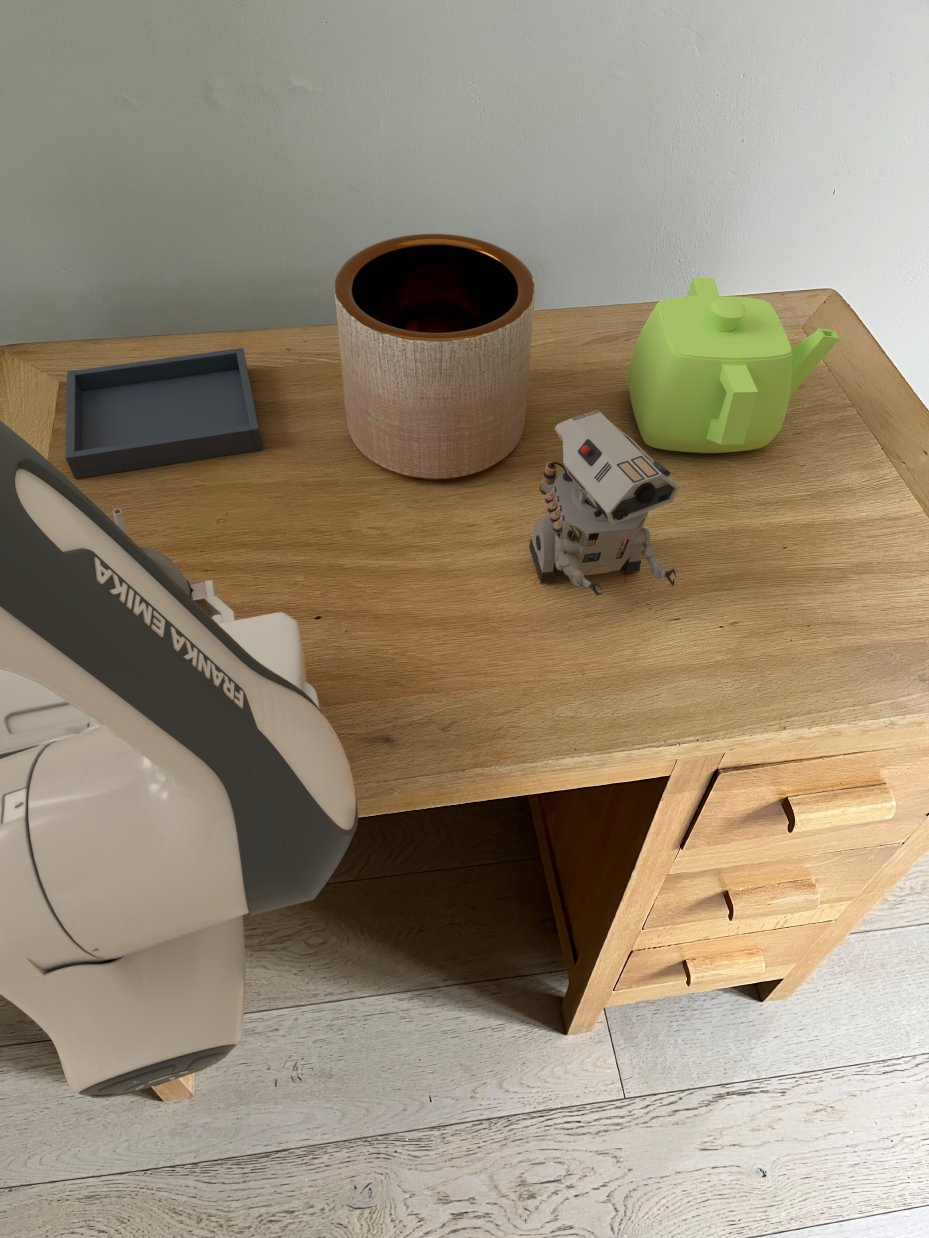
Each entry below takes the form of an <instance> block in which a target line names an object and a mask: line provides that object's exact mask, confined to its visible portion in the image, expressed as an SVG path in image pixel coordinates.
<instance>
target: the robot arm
mask: <svg viewBox="0 0 929 1238" xmlns="http://www.w3.org/2000/svg"><path fill="white" fill-rule="evenodd" d="M139 546H140V545H138V544H137V543H135V541H134V540H133V539H132V538H131V537H129V535H128V534H127V535H126V534H125V533H124V532H123V531H122V530H121V529H120V528H119V527H118V526H117V525H116V523H115V521H114V520H112V519H111V518H110V517H109V516H108V515H107V514H106V513H105V512H104V511H103V510H102V509H101V508H100V507H98V505H96V503H94V501H92V500H91V498H89V497H88V496H87V495H86V494H85V493H84V492H83V491H82V490H80V489H79V488H78V487H77V486H76V485H75V484H74V483H73V482H72V481H71V480H70V479H69V478H67V477H66V476H65V474H64V473H62V472H61V471H60V470H59V469H58V468H57V467H55V466H54V465H53V464H52V463H51V462H50V461H49V460H48V459H47V458H46V457H45V456H43V455H42V454H41V453H40V452H39V451H38V450H37V449H36V448H35V447H33V446H32V445H31V444H29V442H28V441H26V440H25V439H24V438H22V436H20V435H19V434H17V433H16V431H14V430H13V429H12V428H10V427H9V426H8V425H7V424H6V423H4V422H3V421H2V420H0V995H1V996H2V997H3V998H5V999H6V1000H8V1001H9V1002H10V1003H12V1004H13V1005H15V1006H16V1007H17V1008H18V1009H19V1010H21V1011H22V1012H23V1013H24V1014H26V1015H27V1016H28V1017H29V1018H30V1019H31V1020H33V1021H34V1022H35V1023H36V1024H37V1026H39V1027H40V1028H41V1029H42V1030H43V1031H44V1032H45V1033H46V1034H47V1035H48V1037H49V1039H51V1041H52V1043H53V1045H54V1047H55V1049H56V1052H57V1054H58V1057H59V1060H60V1061H59V1062H60V1064H61V1067H62V1071H63V1073H64V1078H65V1080H66V1082H67V1084H68V1086H69V1088H70V1089H71V1090H72V1091H73V1092H75V1093H76V1094H78V1095H80V1096H84V1097H90V1098H92V1099H108V1098H115V1097H120V1096H121V1097H122V1096H125V1095H130V1094H134V1093H138V1091H141V1090H145V1089H148V1088H151V1087H158V1086H160V1085H161V1086H162V1085H164V1084H166V1083H169V1082H171V1081H174V1080H177V1079H181V1078H183V1077H186V1076H189V1075H192V1074H195V1073H198V1072H202V1071H203V1070H206V1069H208V1068H209V1067H212V1066H214V1065H216V1064H217V1063H219V1062H221V1061H222V1060H224V1059H225V1058H227V1056H228V1055H229V1054H230V1052H231V1051H233V1050H234V1049H235V1048H236V1047H237V1046H238V1044H239V1043H240V1041H241V1038H242V1032H243V1025H244V1017H245V1003H246V946H245V945H246V944H245V943H246V942H245V927H244V916H245V915H247V914H249V916H251V917H252V916H255V915H259V914H263V913H267V912H271V911H275V910H279V909H283V908H286V907H291V906H294V905H299V904H302V903H307V902H310V901H313V900H315V899H316V898H317V896H318V895H319V893H320V892H321V891H322V890H323V889H324V887H325V886H326V884H327V883H328V881H329V880H330V878H331V877H332V875H333V874H334V872H335V871H336V869H337V867H339V865H340V862H341V861H342V859H343V858H344V855H345V854H346V852H347V850H348V848H349V846H350V845H351V842H352V840H353V838H354V835H355V833H356V831H357V829H358V825H359V824H358V823H359V822H358V821H359V810H358V801H357V795H356V790H355V789H356V788H355V784H354V782H355V781H354V777H353V774H352V769H351V765H350V762H349V759H348V757H347V754H346V752H345V749H344V746H343V744H342V742H341V739H340V738H339V736H338V734H337V733H336V731H335V730H334V728H333V726H332V725H331V723H330V722H329V720H328V719H327V718H326V717H325V715H324V713H323V711H322V705H321V701H320V696H319V693H318V690H317V689H316V688H315V687H314V686H313V685H312V684H311V683H309V682H307V666H306V658H305V651H304V646H303V645H304V644H303V639H302V633H301V629H300V625H299V622H298V621H297V620H296V619H295V618H293V616H291V615H289V614H287V613H285V612H282V611H277V612H272V613H267V614H261V615H256V616H251V617H246V618H239V619H236V616H235V611H234V610H233V609H231V607H229V606H228V605H227V604H226V603H225V602H223V600H221V599H220V598H219V597H218V593H217V589H216V585H215V583H214V580H213V579H208V580H203V581H198V582H197V581H196V582H193V583H190V586H191V591H192V593H191V596H192V598H191V597H190V596H189V595H188V594H187V593H186V592H185V591H184V590H183V589H182V588H181V587H180V586H179V585H178V584H177V583H176V582H175V581H174V580H173V579H172V578H170V577H169V576H168V575H167V574H166V573H165V572H164V571H163V570H162V569H161V568H160V567H159V566H158V565H157V564H156V563H155V562H154V561H153V560H152V559H151V558H150V557H149V556H148V555H147V554H146V553H145V552H144V551H143V550H142V549H141V548H140V547H139Z"/></svg>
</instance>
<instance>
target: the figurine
mask: <svg viewBox="0 0 929 1238" xmlns="http://www.w3.org/2000/svg"><path fill="white" fill-rule="evenodd" d="M554 430H555V432H556V434H557V436H558V438H559V439H560V440H561V442H562V459H563V460H562V462H563V464H562V463H560V462H558V461H548V462H546V463H545V467H544V470H543V475H542V480H541V484H540V485H539V492H540V494H542V495H544V503H545V504H547V508H546V511H547V514H546V517H545V518H543V519H537V520H536V521H535V523H534V527H533V533H532V539H530V540H529V545H528V549H529V551H530V554H531V558H532V560H533V564H534V567H535V570H536V573H537V576H538V580H539V583H540V584H544V583H553V582H555V574H556V573H555V572H556V571H555V569H554V567H555V568H556V570H558V571H563V573H564V574H565V575H566V576H567V577H568V578H569V581H570V583H572V584H573V585H574V586H575V587H580V586H581V585H583V586H584V587H586V588H590V589H591V590H592V591H593V593H594V594H595V596H596V597H599V596H601V595H603V594H604V592H598V590H597V588H598V589H600V590H602V588H601V586H600V583H599V582H594V583H592V582H591V581H590V580H588V579H587V578H586V577H585V576H591V575H600V574H607V573H610V572H616V571H620V570H621V569H622V567H623V568H624V571H625V573H627V574H628V573H635V572H641V565H642V561H641V559H643V560H645V561H646V562H647V564H648V567H650V571H651V575H652V576H653V578H654V580H656V581H657V582H661V580H662V579H667V581H668V582H669V584H670V585H671V587H674V586H675V578H677V574H676V570H675V568H671V569H670V570H665V567H664V565H662V564H661V562H659V560H658V558H657V556H656V548H655V547H653V546H651V545H650V542H651V533H650V529H648V528H647V527H645V526H644V524H645V522H646V519H647V517H648V515H649V512H651V511H654V510H656V509H659V508H661V507H664V506H667V505H669V504H672V503H673V501H674V500H675V498H676V496H677V494H678V492H679V490H680V488H681V487H680V485H678V484H677V483H676V481H674V479H672V478H671V476H670V475H671V473H672V471H670V470H669V469H667V467H665V466H663V465H662V464H661V463H660V462H658V461H657V460H653V458H652V457H651V456H650V455H649V454H647V452H645V451H644V450H643V449H642V448H641V447H640V446H639V445H638V443H637V442H635V440H633V438H631V437H630V436H629V435H628V434H626V433H625V432H623V431H622V430H621V429H620V428H619V427H618V426H617V425H616V424H614V423H612V422H611V421H610V420H609V419H608V418H607V417H606V416H605V415H604V414H603V412H601V411H600V410H599V409H595V410H593V411H589V412H587V413H583V414H580V415H577V416H574V417H571V418H569V419H566V420H563V421H562V422H559V423H557V424H556V426H555V427H554ZM558 466H560V467H561V468H562V469H563V470H562V471H561V473H560V474H559V475H557V470H558ZM554 565H555V566H554ZM672 574H673V575H674V578H673V579H672V578H671V575H672Z"/></svg>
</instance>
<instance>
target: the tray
mask: <svg viewBox="0 0 929 1238" xmlns="http://www.w3.org/2000/svg"><path fill="white" fill-rule="evenodd" d="M65 408H66V410H65V411H66V413H65V415H66V416H65V460H66V462H67V465H68V467H69V469H70V472H71V474H72V476H73V478H74V480H78V479H83V478H90V477H97V476H102V475H103V476H104V475H109V474H115V473H116V474H117V473H121V472H128V471H135V470H141V469H148V468H153V467H160V466H166V465H173V464H179V463H187V462H191V461H198V460H205V459H210V458H211V459H212V458H218V457H223V456H231V455H236V454H243V453H249V452H256V451H262V450H264V446H263V441H262V436H261V430H260V424H259V420H258V414H257V410H256V404H255V400H254V395H253V389H252V384H251V380H250V373H249V370H248V363H247V360H246V354H245V350H244V347H238V348H230V349H223V350H217V351H209V352H202V353H193V354H185V355H179V356H172V357H171V356H170V357H165V358H157V359H150V360H142V361H135V362H127V363H121V364H120V363H119V364H113V365H105V366H97V367H90V368H82V369H76V370H67V371H66V407H65Z"/></svg>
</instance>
